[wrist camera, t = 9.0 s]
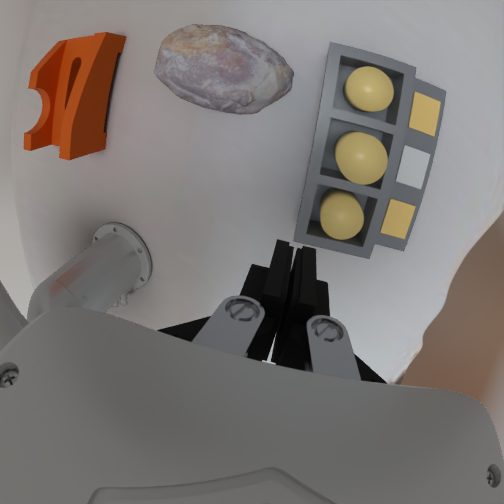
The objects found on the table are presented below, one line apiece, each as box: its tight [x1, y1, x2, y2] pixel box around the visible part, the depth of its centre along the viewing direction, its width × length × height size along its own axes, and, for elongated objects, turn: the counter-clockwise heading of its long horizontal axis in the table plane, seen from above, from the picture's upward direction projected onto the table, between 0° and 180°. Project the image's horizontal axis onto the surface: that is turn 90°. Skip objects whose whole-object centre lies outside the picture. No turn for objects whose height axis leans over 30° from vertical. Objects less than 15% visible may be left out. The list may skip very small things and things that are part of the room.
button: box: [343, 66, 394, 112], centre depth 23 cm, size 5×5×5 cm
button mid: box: [334, 131, 388, 185], centre depth 24 cm, size 5×5×5 cm
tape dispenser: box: [24, 32, 126, 160], centre depth 29 cm, size 18×13×8 cm
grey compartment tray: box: [293, 42, 416, 259], centre depth 28 cm, size 22×9×6 cm, turn 172°
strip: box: [375, 78, 446, 251], centre depth 29 cm, size 22×5×1 cm, turn 172°
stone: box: [154, 24, 294, 114], centre depth 28 cm, size 17×10×10 cm
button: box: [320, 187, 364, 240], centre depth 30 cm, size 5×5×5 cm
